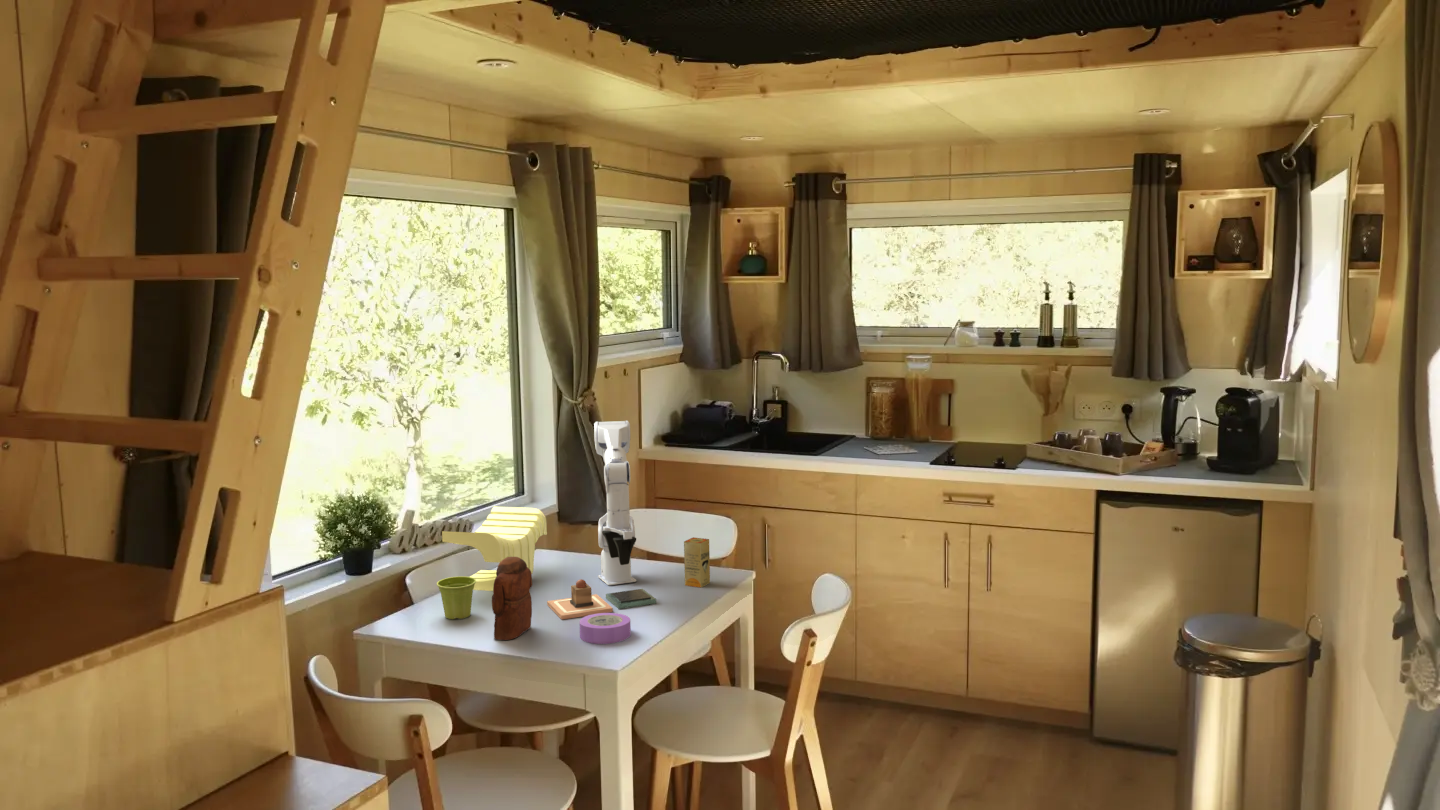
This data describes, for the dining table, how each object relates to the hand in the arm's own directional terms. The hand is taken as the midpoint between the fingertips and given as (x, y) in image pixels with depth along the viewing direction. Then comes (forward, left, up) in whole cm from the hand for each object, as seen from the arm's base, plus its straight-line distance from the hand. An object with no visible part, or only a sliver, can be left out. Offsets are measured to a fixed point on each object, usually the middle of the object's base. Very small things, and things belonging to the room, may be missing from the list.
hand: (619, 560), depth 275 cm
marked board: (+5, -13, -9) cm, 16 cm away
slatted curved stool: (-26, -26, -10) cm, 38 cm away
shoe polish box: (-1, +22, -10) cm, 24 cm away
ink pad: (+5, +1, -9) cm, 11 cm away
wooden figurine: (+16, -32, -10) cm, 37 cm away
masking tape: (+27, -13, -10) cm, 32 cm away
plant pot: (-3, -41, -10) cm, 42 cm away
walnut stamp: (+5, -12, -8) cm, 15 cm away
